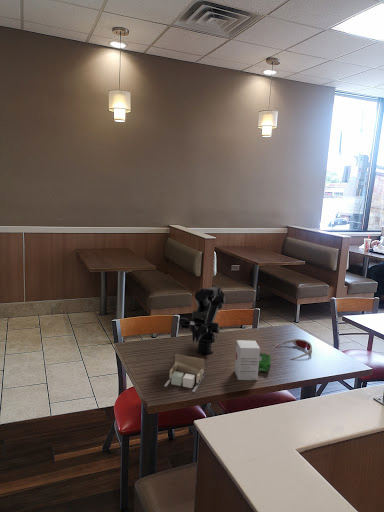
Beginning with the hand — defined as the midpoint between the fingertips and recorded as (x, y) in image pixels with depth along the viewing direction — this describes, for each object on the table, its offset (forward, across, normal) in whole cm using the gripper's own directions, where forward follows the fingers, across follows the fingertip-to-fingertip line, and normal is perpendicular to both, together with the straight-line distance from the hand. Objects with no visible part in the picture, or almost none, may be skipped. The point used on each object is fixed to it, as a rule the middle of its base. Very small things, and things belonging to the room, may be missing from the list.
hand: (194, 342), depth 180 cm
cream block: (+20, +2, -2) cm, 20 cm away
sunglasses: (-18, +43, +37) cm, 60 cm away
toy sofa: (+16, 0, +2) cm, 16 cm away
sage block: (+20, -2, -2) cm, 20 cm away
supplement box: (+7, +24, +11) cm, 27 cm away
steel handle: (+18, 0, 0) cm, 18 cm away
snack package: (0, +30, +19) cm, 35 cm away
